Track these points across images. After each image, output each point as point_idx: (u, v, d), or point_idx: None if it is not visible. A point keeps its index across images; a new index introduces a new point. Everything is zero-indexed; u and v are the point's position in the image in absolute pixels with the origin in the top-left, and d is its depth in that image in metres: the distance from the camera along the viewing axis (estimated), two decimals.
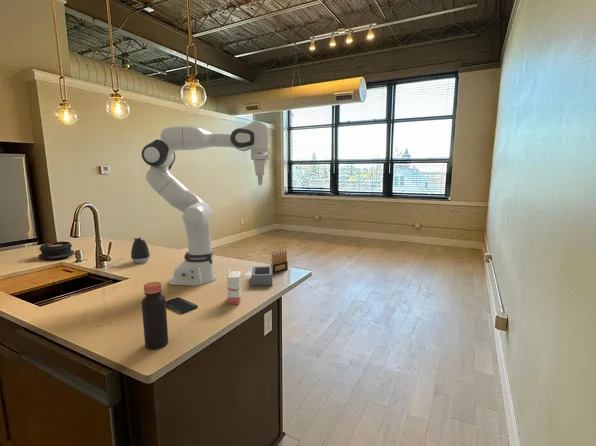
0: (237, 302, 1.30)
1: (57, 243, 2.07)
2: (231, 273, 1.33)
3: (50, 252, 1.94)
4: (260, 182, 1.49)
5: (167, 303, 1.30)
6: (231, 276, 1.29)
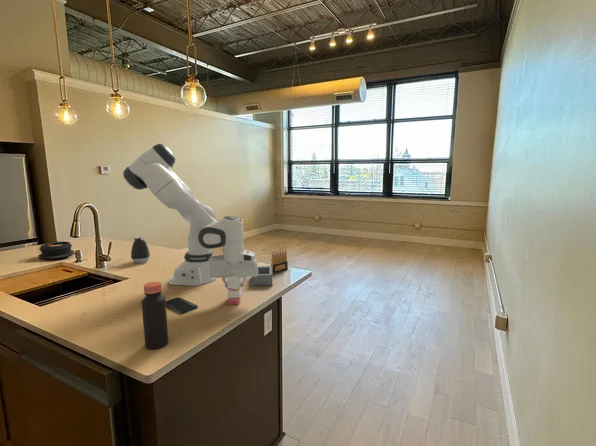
0: (237, 302, 1.30)
1: (57, 243, 2.07)
2: None
3: (50, 252, 1.94)
4: None
5: (167, 303, 1.30)
6: (231, 276, 1.29)
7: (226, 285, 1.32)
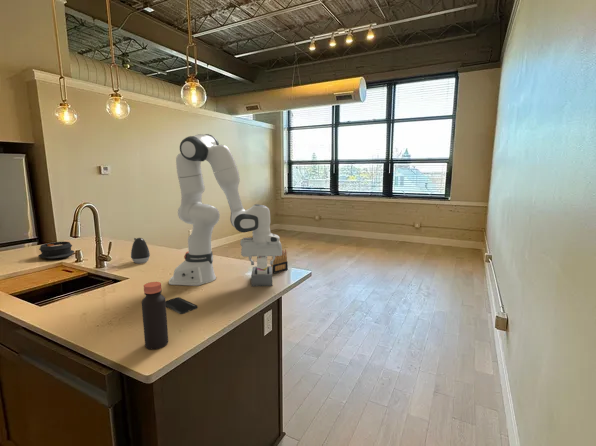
0: None
1: (57, 243, 2.07)
2: (259, 256, 1.57)
3: (50, 252, 1.94)
4: None
5: (167, 303, 1.30)
6: (260, 258, 1.53)
7: (252, 263, 1.55)
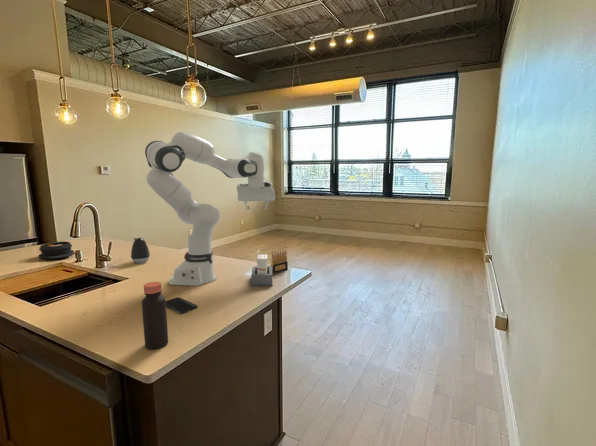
0: None
1: (57, 243, 2.07)
2: (259, 256, 1.57)
3: (50, 252, 1.94)
4: (266, 206, 1.71)
5: (167, 303, 1.30)
6: (260, 258, 1.53)
7: (247, 207, 1.69)
